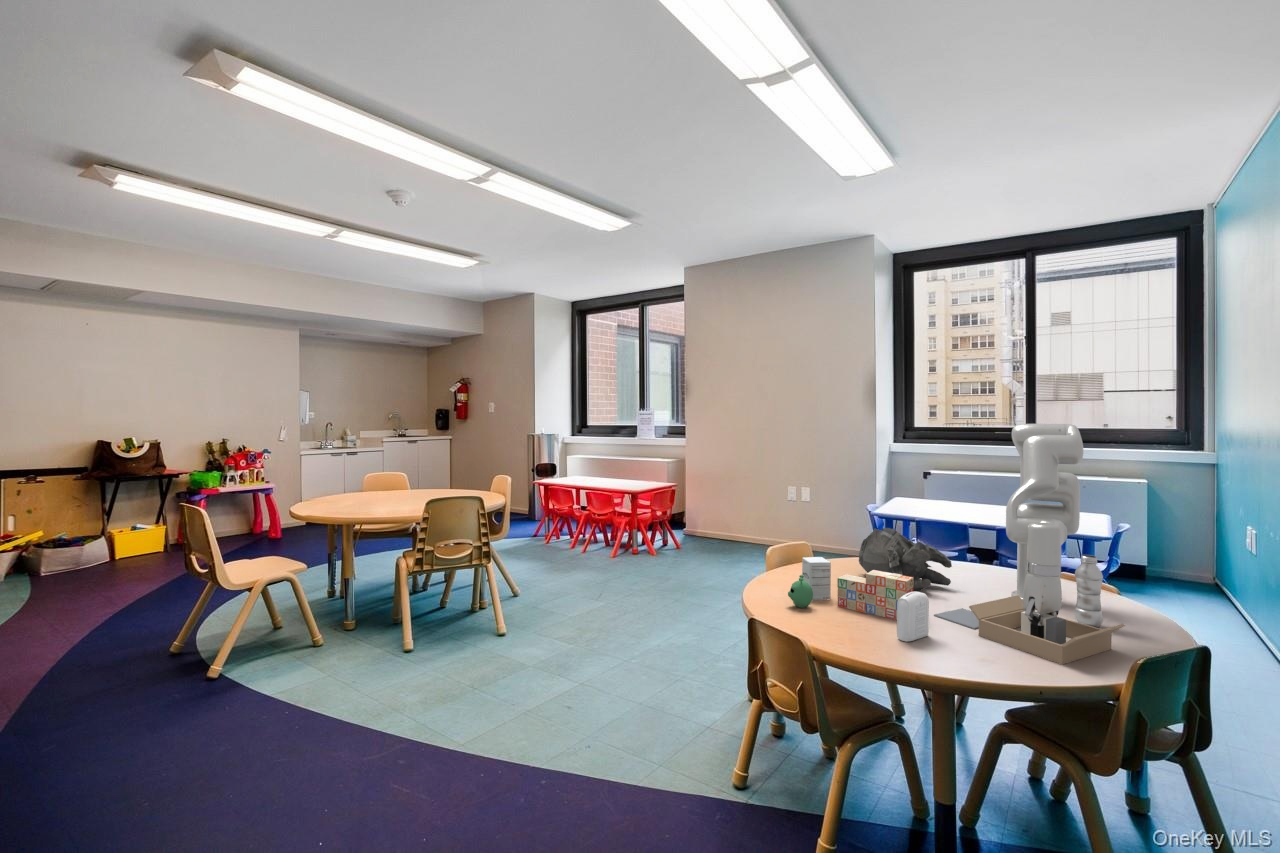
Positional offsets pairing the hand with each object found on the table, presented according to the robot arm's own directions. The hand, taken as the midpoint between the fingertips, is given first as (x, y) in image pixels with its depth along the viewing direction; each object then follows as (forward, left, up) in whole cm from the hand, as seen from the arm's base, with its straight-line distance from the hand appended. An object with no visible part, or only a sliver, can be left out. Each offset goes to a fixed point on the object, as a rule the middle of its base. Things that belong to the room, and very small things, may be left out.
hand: (1043, 636), depth 163 cm
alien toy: (+38, -52, -2) cm, 64 cm away
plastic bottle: (-25, -2, -2) cm, 25 cm away
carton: (0, 0, -1) cm, 1 cm away
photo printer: (+28, -18, -2) cm, 33 cm away
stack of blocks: (+21, -38, -2) cm, 44 cm away
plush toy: (-14, -57, -2) cm, 59 cm away
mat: (+1, -21, -1) cm, 21 cm away
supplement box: (+26, -58, -2) cm, 64 cm away
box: (0, 0, -1) cm, 1 cm away
